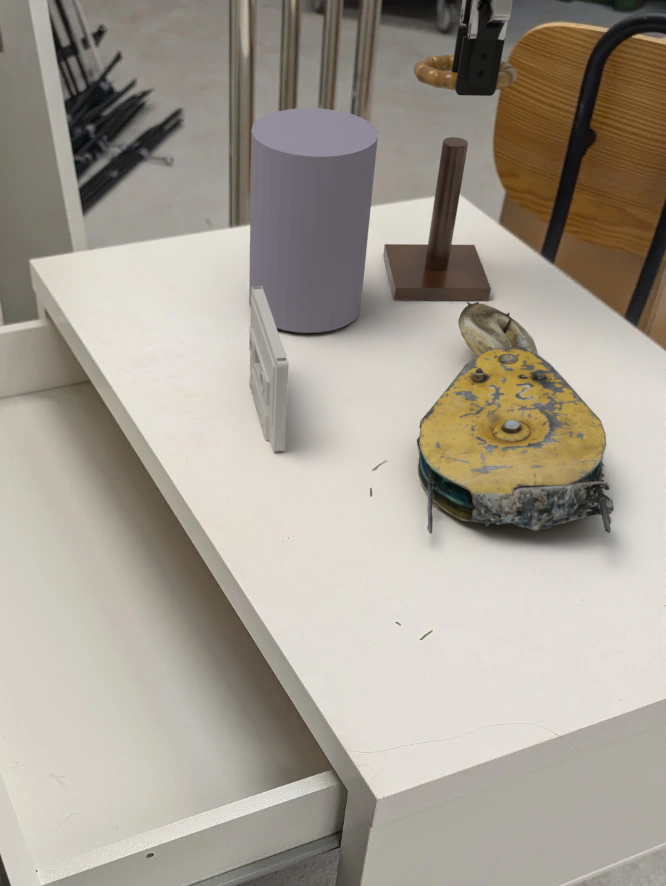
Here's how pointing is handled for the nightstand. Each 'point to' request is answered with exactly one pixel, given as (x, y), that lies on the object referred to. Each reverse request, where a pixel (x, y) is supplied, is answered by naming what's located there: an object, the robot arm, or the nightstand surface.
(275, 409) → the cassette
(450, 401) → the pulley block
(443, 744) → the nightstand surface
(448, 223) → the peg stand
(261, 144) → the container
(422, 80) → the ring
